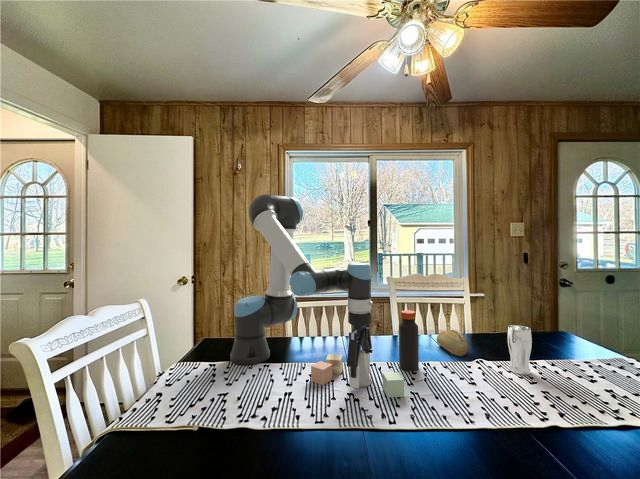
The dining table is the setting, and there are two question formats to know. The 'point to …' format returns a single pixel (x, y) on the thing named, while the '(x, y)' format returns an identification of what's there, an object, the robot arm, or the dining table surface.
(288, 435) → the dining table surface
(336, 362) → the maple block
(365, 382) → the flask
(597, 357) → the dining table surface
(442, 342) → the bread roll
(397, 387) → the sage block
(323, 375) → the terracotta block
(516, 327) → the beer glass
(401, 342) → the bottle
